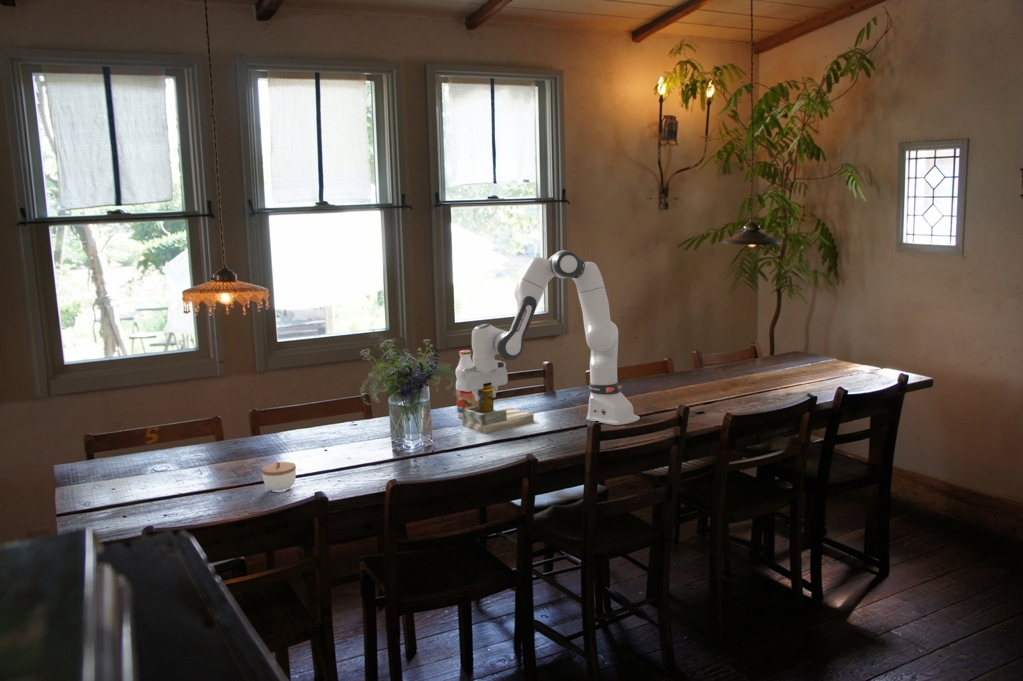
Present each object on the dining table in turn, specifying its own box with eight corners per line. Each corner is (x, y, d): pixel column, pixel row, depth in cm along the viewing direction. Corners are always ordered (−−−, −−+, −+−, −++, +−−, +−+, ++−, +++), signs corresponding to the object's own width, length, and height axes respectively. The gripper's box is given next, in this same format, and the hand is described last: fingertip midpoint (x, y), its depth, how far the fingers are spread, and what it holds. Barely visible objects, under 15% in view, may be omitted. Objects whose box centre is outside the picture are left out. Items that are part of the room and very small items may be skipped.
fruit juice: (484, 416, 359) (480, 350, 354) (464, 420, 354) (460, 354, 349) (472, 412, 366) (469, 348, 362) (453, 415, 361) (449, 351, 357)
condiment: (497, 411, 341) (496, 382, 339) (479, 415, 336) (478, 385, 334) (488, 408, 347) (487, 379, 345) (470, 411, 342) (469, 382, 340)
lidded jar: (275, 483, 285) (272, 456, 283) (303, 485, 282) (301, 457, 280) (257, 494, 275) (254, 466, 273) (286, 496, 272) (283, 468, 270)
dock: (533, 421, 346) (533, 404, 345) (484, 433, 333) (483, 416, 331) (510, 414, 359) (510, 398, 358) (462, 425, 346) (461, 408, 344)
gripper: (466, 370, 330) (468, 404, 333) (509, 362, 342) (510, 395, 344) (457, 367, 335) (459, 402, 338) (500, 360, 347) (501, 393, 349)
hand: (485, 398), depth 341 cm, fingers closed on condiment, 6 cm apart
